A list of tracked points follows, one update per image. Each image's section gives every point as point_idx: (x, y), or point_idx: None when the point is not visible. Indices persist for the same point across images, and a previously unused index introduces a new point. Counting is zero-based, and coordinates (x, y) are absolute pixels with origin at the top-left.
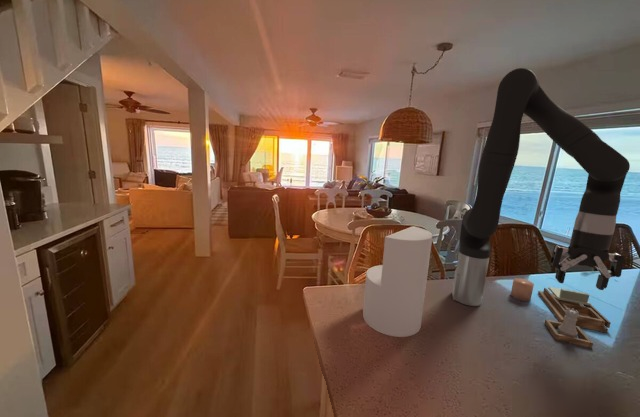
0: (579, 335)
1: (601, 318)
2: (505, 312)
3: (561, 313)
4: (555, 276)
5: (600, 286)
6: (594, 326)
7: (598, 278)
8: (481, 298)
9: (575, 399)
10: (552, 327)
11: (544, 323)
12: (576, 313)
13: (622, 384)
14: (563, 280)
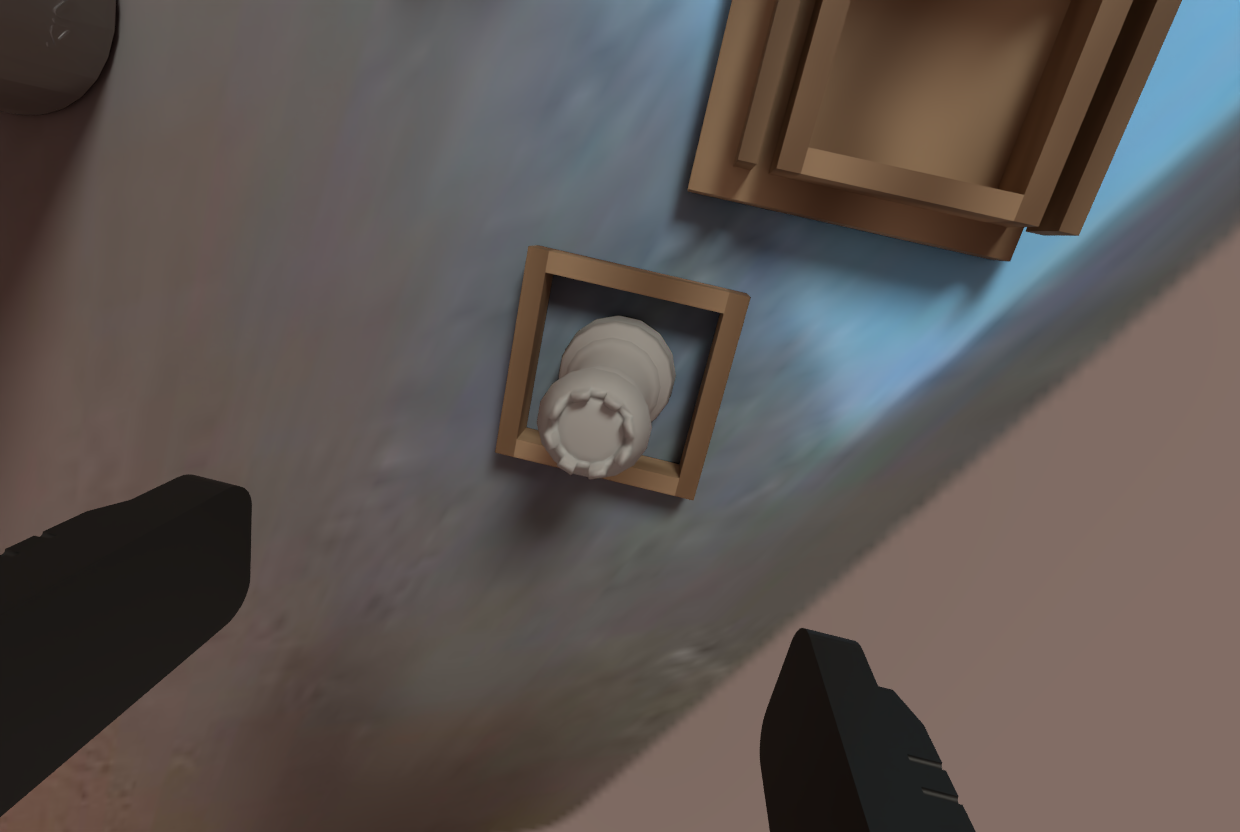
0: (705, 367)
1: (1054, 169)
2: (291, 140)
3: (757, 72)
4: (76, 522)
5: (772, 785)
6: (917, 241)
7: (838, 817)
8: (35, 49)
9: (369, 808)
10: (518, 365)
11: (538, 246)
12: (596, 474)
13: (626, 722)
14: (186, 649)
